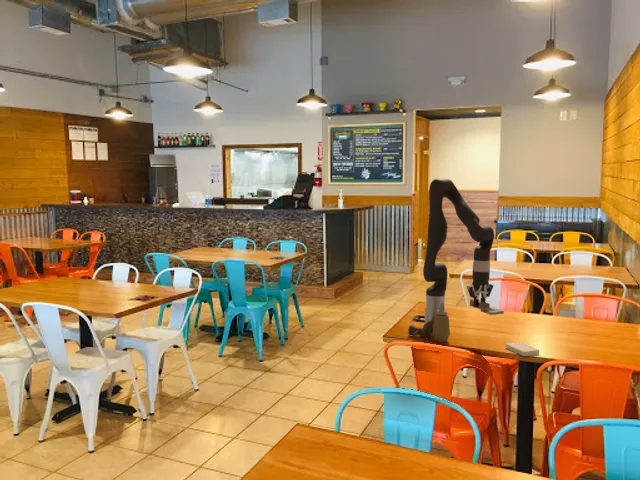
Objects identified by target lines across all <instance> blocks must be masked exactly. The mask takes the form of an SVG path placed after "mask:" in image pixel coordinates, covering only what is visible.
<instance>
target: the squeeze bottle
mask: <svg viewBox="0 0 640 480" xmlns="http://www.w3.org/2000/svg"><path fill="white" fill-rule="evenodd" d="M447 311H448V310H446V309H445V307H444V304H443V303H441V304H440V308H439V310H437V314H436V315H435V317H434V324H433V331H431V332H432V336H433V340H434V341H435V342H437V341H439V342H438V343H447V342H448V340H449V337H450V335H451V332H450V331H451V330H450V317H449V315H448V312H447Z"/></svg>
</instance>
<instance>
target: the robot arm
mask: <svg viewBox="0 0 640 480" xmlns="http://www.w3.org/2000/svg"><path fill="white" fill-rule="evenodd" d="M428 194H429V199H428V200H429V210H428V211H429V213H428V214H429V215H428V226H427V242H426V250H425V251H426V253H425V257H424V264H423V272H422V273H423V279H424V280H425V281H426V282H427V283H432V282H433V284H432V285H431V286H429V287H427V288H426V289H425V290H426V291H425V293H426V294H425V308H424V324H427V322H429V321H432V322H434V317H435V315H436V314H437V310H439V308H440V304H441V303H443V304H444V308H445V307H446V306H445V304H446V303H445V302H446V291H447V285H448V267H447V265H446V264H445V263H444V262H436V260H437V256H438V253H439V251H440V250H441V249H442V247H443V245H444V244H445V242H446V240H447V238H448V237H447V236H448V222H447V219H446V217H445V214H444V211H443V201H444V200H443V199H444V198H445V199H447V200H448V201H450V202H451V203H452V205H453V207H454V210H455V213H456V215H457V218H458V219H459V220H460V221H461V223H462V224H463V225H464V226H465V227H466V229H467V232H468V234H469V236H470V237H471V238H472V239H473V241H475V242H476V243H479V244H478V246H476V247H475V248H474V249H473V262H472V263H473V264H472V277H471V278H472V283H471V285H467V286H466V289H467V292H468V295H469V297H470V298H471V299H474V306H475V307H478V304H479V300H480V301H483V302H486V303H487V301H486V299H487V298H488V297H489V298H490V296H491V293H492V291H493V289H494V284H491V283H489V280H490V273H491V263H490V262H491V261H490V260H491V249H492V246H493V244H494V239H495V232H494V229H493V228H492V227H491V226H488V225H485V226H483V225H480V218H479V216H478V215H477V214H476V213H475V211H474V210H473V209H471V207H470V206H469V205H468V203H467V202H466V201H465V199H464V198H463V196H462V195H461V192H459V190H458V188H457V186H456V185H455V183H454V182H453V180H451V179H449V178H434V179H433V180H432V181H431V182H430V184H429V189H428ZM479 298H480V299H479ZM475 307H474V308H475Z"/></svg>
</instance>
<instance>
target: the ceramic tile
mask: <svg viewBox="0 0 640 480" xmlns="http://www.w3.org/2000/svg"><path fill="white" fill-rule="evenodd" d="M504 344H505V346H504V347H505V349H507V350H509V351H511V352H513V351H514V353H515V354H518V355H520V356H523V357H528V356H535V355H536V356H537V355H539V354H540V349H538V348H536V347H533V346H531V345H528V344H526V343H524V342H521V341H517V342H509V343H504Z"/></svg>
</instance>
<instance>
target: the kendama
mask: <svg viewBox="0 0 640 480" xmlns="http://www.w3.org/2000/svg"><path fill="white" fill-rule="evenodd" d="M433 324H434V322H432V321H429V322H427V324H425V323H424V324H423V325H422V327H417V326H416V325H414V324H410V325H409V326H408V330H407V331H408V332H407V333H408V335H409V336H410V335H414V336H421V337H423V338H424V339H425V340H427V339H426V338H428V339H430V336H431V332H433Z"/></svg>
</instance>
